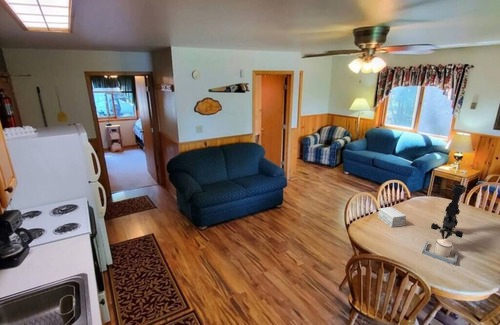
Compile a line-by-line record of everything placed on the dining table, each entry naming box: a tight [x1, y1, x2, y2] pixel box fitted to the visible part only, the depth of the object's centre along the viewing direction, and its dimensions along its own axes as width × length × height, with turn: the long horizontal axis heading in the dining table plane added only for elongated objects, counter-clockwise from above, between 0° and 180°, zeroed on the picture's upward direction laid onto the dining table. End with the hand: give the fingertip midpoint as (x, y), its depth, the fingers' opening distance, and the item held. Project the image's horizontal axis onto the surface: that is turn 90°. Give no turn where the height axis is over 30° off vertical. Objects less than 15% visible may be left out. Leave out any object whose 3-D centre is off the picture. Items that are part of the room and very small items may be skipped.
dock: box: [421, 240, 459, 266], centre depth 190 cm, size 15×19×2 cm
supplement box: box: [377, 206, 407, 228], centre depth 231 cm, size 17×13×9 cm
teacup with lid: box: [434, 238, 453, 258], centre depth 190 cm, size 12×9×12 cm
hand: (443, 241), depth 192 cm, fingers closed
